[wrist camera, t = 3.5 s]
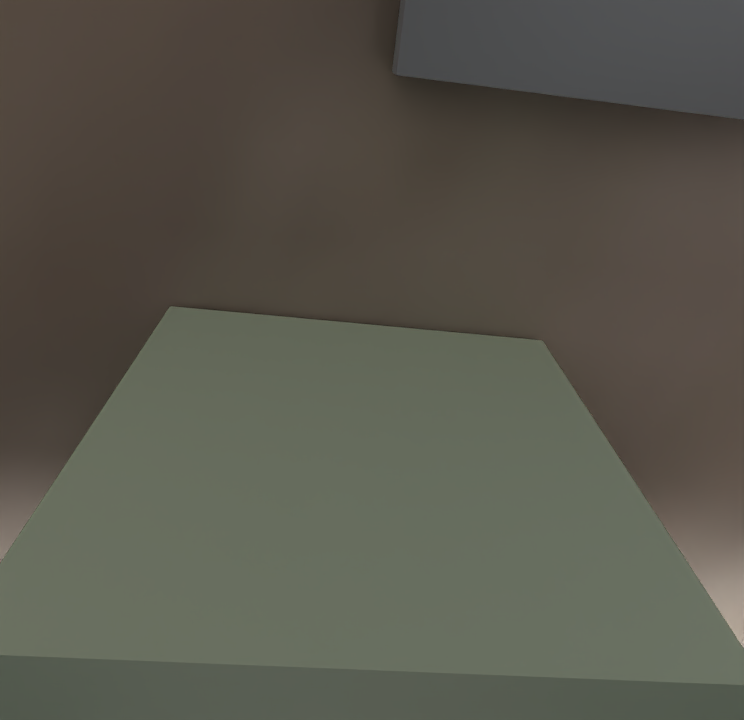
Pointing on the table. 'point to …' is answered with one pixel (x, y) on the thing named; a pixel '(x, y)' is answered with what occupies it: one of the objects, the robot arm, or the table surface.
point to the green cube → (352, 543)
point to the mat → (583, 49)
